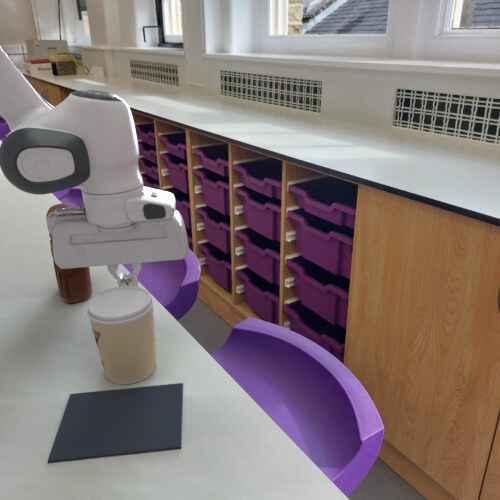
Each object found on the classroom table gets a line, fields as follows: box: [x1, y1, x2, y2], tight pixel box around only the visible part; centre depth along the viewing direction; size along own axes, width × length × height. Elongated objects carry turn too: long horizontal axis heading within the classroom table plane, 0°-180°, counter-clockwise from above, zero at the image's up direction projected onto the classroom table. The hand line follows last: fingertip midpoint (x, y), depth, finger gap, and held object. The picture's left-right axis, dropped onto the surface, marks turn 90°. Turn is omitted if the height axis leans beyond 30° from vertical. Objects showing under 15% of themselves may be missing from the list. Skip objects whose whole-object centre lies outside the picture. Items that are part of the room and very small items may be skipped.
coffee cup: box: [86, 286, 157, 385], centre depth 72 cm, size 9×9×12 cm
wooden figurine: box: [45, 202, 93, 304], centre depth 94 cm, size 12×6×18 cm, turn 25°
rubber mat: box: [47, 382, 184, 464], centre depth 65 cm, size 16×12×1 cm
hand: (128, 286), depth 78 cm, fingers closed
